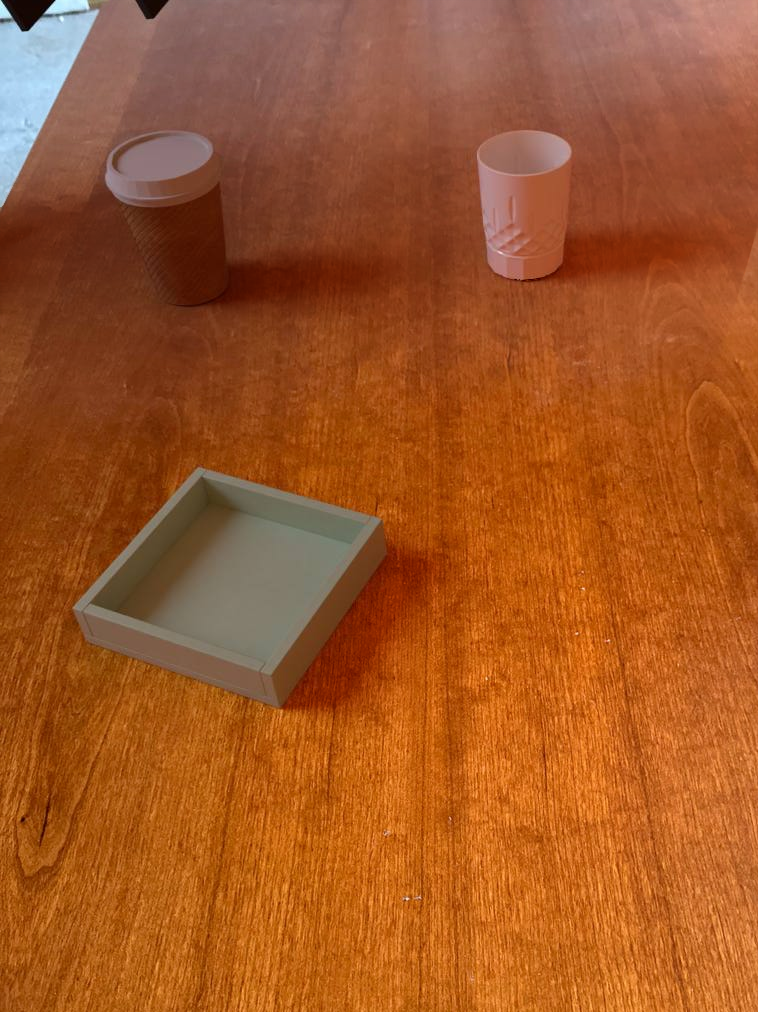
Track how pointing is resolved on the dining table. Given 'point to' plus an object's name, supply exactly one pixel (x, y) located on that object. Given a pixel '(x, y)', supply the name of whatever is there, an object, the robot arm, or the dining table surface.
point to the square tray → (234, 585)
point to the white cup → (524, 201)
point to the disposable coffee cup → (174, 211)
